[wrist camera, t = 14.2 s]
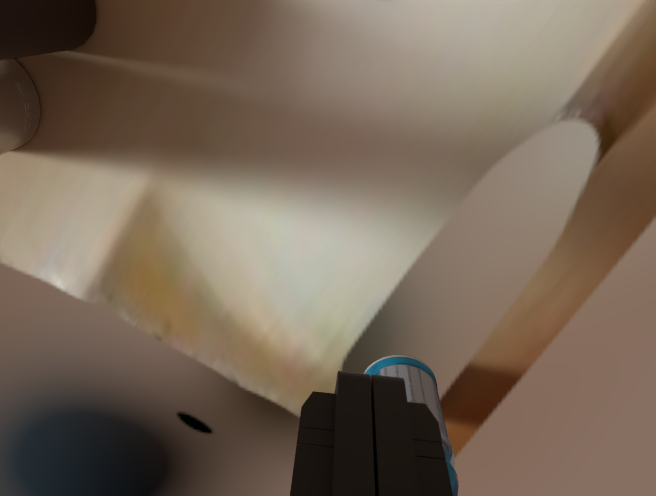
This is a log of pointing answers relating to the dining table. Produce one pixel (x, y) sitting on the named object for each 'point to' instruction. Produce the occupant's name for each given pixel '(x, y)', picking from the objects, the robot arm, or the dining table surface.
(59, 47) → the vinegar
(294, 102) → the dining table surface
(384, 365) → the beverage bottle
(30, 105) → the robot arm
